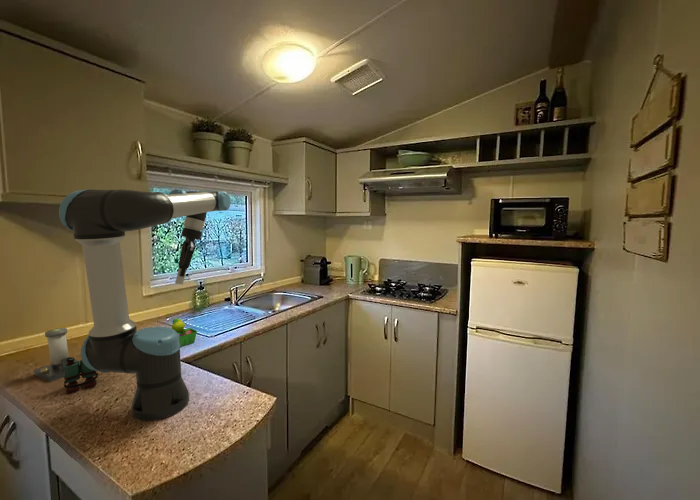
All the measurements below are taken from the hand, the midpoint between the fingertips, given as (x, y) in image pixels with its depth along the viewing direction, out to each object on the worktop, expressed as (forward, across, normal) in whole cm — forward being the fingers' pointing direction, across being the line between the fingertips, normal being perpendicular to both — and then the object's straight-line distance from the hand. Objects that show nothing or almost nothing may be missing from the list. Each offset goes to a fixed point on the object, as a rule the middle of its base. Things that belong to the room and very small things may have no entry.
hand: (179, 283), depth 137 cm
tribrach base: (+39, +8, +30) cm, 49 cm away
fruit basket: (+27, +8, -9) cm, 30 cm away
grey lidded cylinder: (+35, +7, +31) cm, 47 cm away
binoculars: (+38, -12, +24) cm, 46 cm away
